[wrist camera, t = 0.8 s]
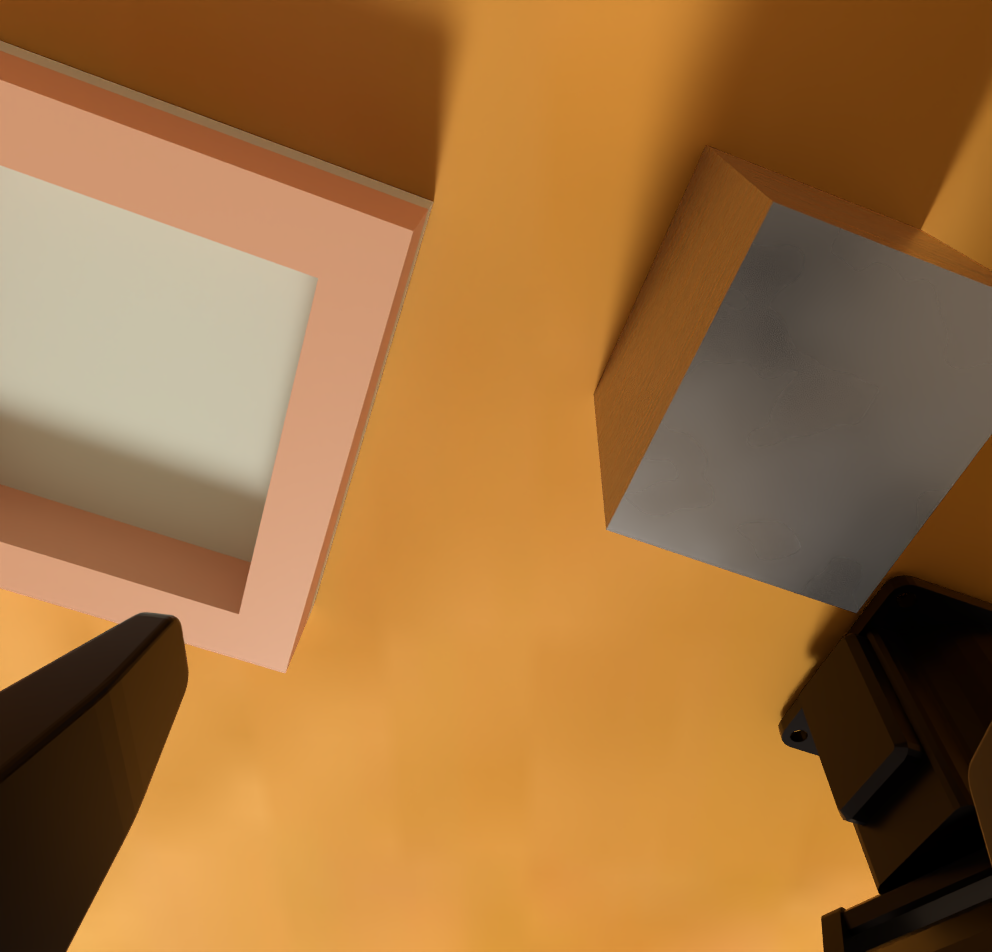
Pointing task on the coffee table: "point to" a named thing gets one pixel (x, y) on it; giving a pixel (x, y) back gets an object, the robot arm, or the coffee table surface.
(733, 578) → the coffee table surface
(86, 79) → the square tray
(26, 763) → the robot arm
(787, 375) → the grey metal box
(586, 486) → the coffee table surface
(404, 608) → the coffee table surface
